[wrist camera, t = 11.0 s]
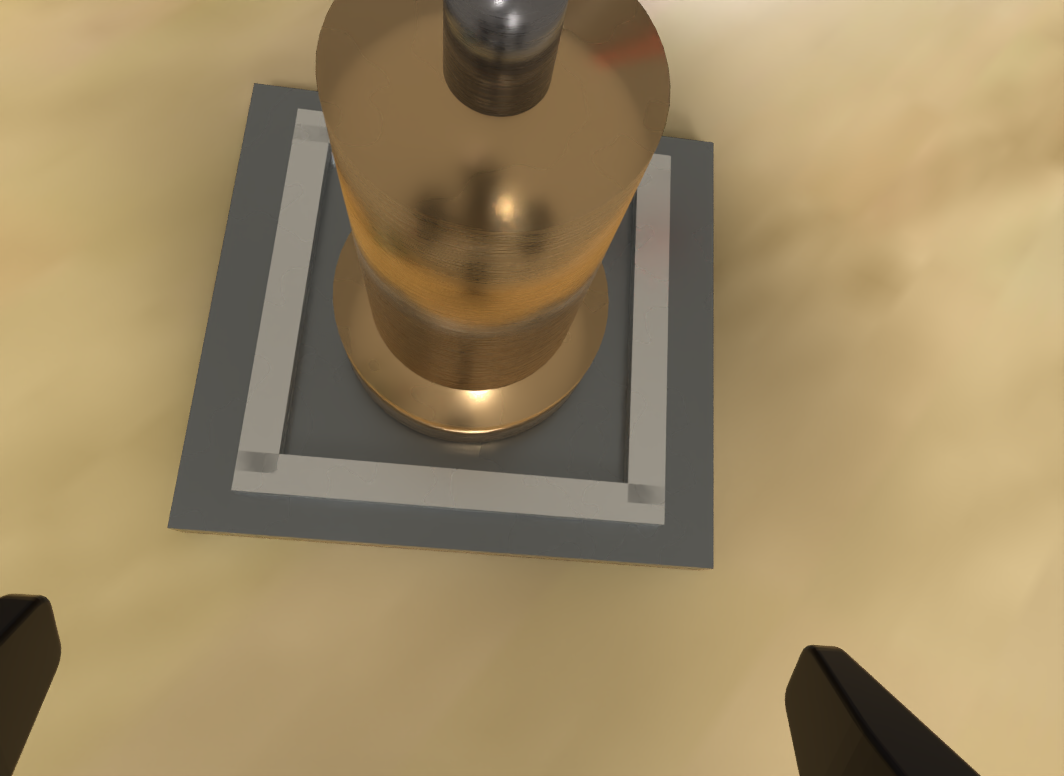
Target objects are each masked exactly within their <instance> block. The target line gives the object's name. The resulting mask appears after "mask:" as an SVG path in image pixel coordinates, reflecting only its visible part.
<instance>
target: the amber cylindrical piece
mask: <svg viewBox="0 0 1064 776" xmlns="http://www.w3.org/2000/svg"><path fill="white" fill-rule="evenodd" d="M316 80H317V88H318V95H319V99H320V103H321V107H322V111H323V115H324V119H325V123H326V127H327V131H328V136H329V140H330V144H331V148H332V152H333V156H334V160H335V164H336V168H337V172H338V176H339V181H340V185H341V189H342V193H343V197H344V201H345V205H346V209H347V213H348V217H349V222H350V226H351V230H352V231H351V233H350V234H349V236H348V238H347V240H346V242H345V244H344V246H343V248H342V250H341V253H340V256H339V259H338V262H337V265H336V270H335V276H334V282H333V307H334V315H335V320H336V324H337V328H338V332H339V335H340V338H341V340H342V343H343V346H344V348H345V351H346V353H347V356H348V358H349V361H350V363H351V365H352V368H353V370H354V372H355V375H356V376H357V378H358V380H359V381H360V383H361V385H362V386H363V388H364V389H365V391H366V392H367V393H368V394H369V395H370V397H371V398H372V399H373V400H374V402H375V403H377V404H378V405H379V406H380V407H381V408H382V409H383V410H384V411H385V412H386V413H387V414H389V415H390V416H391V417H393V418H394V419H396V420H397V421H398V422H400V423H402V424H403V425H405V426H407V427H409V428H411V429H413V430H415V431H417V432H420V433H422V434H425V435H427V436H430V437H433V438H438V439H442V440H446V441H453V442H462V443H479V442H489V441H495V440H501V439H504V438H507V437H511V436H514V435H517V434H519V433H522V432H524V431H526V430H528V429H531V428H532V427H534V426H536V425H537V424H539V423H541V422H542V421H544V420H545V419H547V418H548V417H549V416H550V415H552V414H553V413H554V412H555V411H556V410H558V409H559V408H560V406H561V405H562V404H563V403H564V402H565V401H566V400H567V399H568V398H569V396H570V395H571V394H572V392H573V391H574V389H575V388H576V387H577V385H578V384H579V382H580V381H581V379H582V378H583V376H584V374H585V373H586V371H587V370H588V368H589V367H590V365H591V364H592V362H593V360H594V358H595V356H596V354H597V352H598V350H599V348H600V345H601V342H602V339H603V336H604V333H605V328H606V323H607V318H608V305H609V298H608V285H607V280H606V275H605V271H604V267H603V264H602V260H603V258H604V256H605V254H606V252H607V250H608V248H609V246H610V244H611V242H612V239H613V237H614V235H615V233H616V231H617V229H618V227H619V225H620V223H621V221H622V219H623V217H624V215H625V213H626V210H627V208H628V206H629V204H630V202H631V200H632V198H633V196H634V194H635V192H636V190H637V188H638V186H639V183H640V181H641V179H642V177H643V175H644V173H645V171H646V169H647V167H648V165H649V163H650V161H651V159H652V156H653V154H654V152H655V150H656V148H657V146H658V144H659V142H660V139H661V136H662V133H663V131H664V128H665V125H666V121H667V116H668V111H669V105H670V78H669V68H668V63H667V59H666V55H665V52H664V48H663V45H662V43H661V40H660V38H659V35H658V33H657V30H656V28H655V26H654V25H653V23H652V21H651V19H650V18H649V16H648V14H647V12H646V11H645V10H644V8H643V7H642V6H641V4H640V3H639V2H638V0H334V2H333V4H332V5H331V7H330V9H329V11H328V13H327V15H326V18H325V20H324V23H323V26H322V29H321V31H320V36H319V41H318V46H317V51H316Z"/></svg>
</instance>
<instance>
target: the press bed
mask: <svg viewBox="0 0 1064 776" xmlns="http://www.w3.org/2000/svg"><path fill="white" fill-rule="evenodd" d="M351 231H352V230H351V226H350V222H349V217H348V213H347V209H346V205H345V201H344V197H343V193H342V189H341V185H340V181H339V176H338V172H337V168H336V164H335V160H334V156H333V152H332V148H331V144H330V140H329V136H328V131H327V127H326V123H325V119H324V115H323V111H322V107H321V103H320V99H319V95H318V91H310V90H303V89H295V88H287V87H279V86H272V85H264V84H256V83H254V88H253V93H252V98H251V103H250V108H249V113H248V118H247V123H246V128H245V134H244V139H243V144H242V149H241V154H240V159H239V164H238V169H237V175H236V180H235V185H234V190H233V195H232V200H231V205H230V210H229V215H228V221H227V226H226V231H225V236H224V241H223V246H222V251H221V256H220V262H219V267H218V272H217V277H216V282H215V287H214V292H213V297H212V302H211V308H210V313H209V318H208V323H207V328H206V333H205V338H204V343H203V349H202V354H201V359H200V364H199V369H198V374H197V379H196V384H195V389H194V395H193V400H192V405H191V410H190V415H189V420H188V425H187V430H186V436H185V441H184V446H183V451H182V456H181V461H180V466H179V471H178V476H177V482H176V487H175V492H174V497H173V502H172V507H171V512H170V517H169V523H168V528H169V529H173V530H177V531H181V532H190V533H203V534H217V535H231V536H244V537H258V538H271V539H285V540H298V541H312V542H325V543H339V544H352V545H366V546H379V547H393V548H406V549H420V550H433V551H447V552H460V553H474V554H487V555H501V556H514V557H528V558H541V559H555V560H568V561H582V562H595V563H609V564H622V565H636V566H649V567H663V568H676V569H690V570H705V569H713V143H712V142H704V141H697V140H689V139H681V138H673V137H666V136H661V139H660V142H659V144H658V146H657V148H656V150H655V152H654V154H653V156H652V159H651V161H650V163H649V165H648V167H647V169H646V171H645V173H644V175H643V177H642V179H641V181H640V183H639V186H638V188H637V190H636V192H635V194H634V196H633V198H632V200H631V202H630V204H629V206H628V208H627V210H626V213H625V215H624V217H623V219H622V221H621V223H620V225H619V227H618V229H617V231H616V233H615V235H614V237H613V239H612V242H611V244H610V246H609V248H608V250H607V252H606V254H605V256H604V258H603V260H602V264H603V267H604V271H605V275H606V280H607V285H608V298H609V305H608V318H607V323H606V328H605V333H604V336H603V339H602V342H601V345H600V348H599V350H598V352H597V354H596V356H595V358H594V360H593V362H592V364H591V365H590V367H589V368H588V370H587V371H586V373H585V374H584V376H583V378H582V379H581V381H580V382H579V384H578V385H577V387H576V388H575V389H574V391H573V392H572V394H571V395H570V396H569V398H568V399H567V400H566V401H565V402H564V403H563V404H562V405H561V406H560V408H559V409H558V410H556V411H555V412H554V413H553V414H552V415H550V416H549V417H548V418H547V419H545V420H544V421H542V422H541V423H539V424H537V425H536V426H534V427H532V428H531V429H528V430H526V431H524V432H522V433H519V434H517V435H514V436H511V437H507V438H504V439H501V440H495V441H489V442H479V443H462V442H453V441H446V440H442V439H438V438H433V437H430V436H427V435H425V434H422V433H420V432H417V431H415V430H413V429H411V428H409V427H407V426H405V425H403V424H402V423H400V422H398V421H397V420H396V419H394V418H393V417H391V416H390V415H389V414H387V413H386V412H385V411H384V410H383V409H382V408H381V407H380V406H379V405H378V404H377V403H375V402H374V400H373V399H372V398H371V397H370V395H369V394H368V393H367V392H366V391H365V389H364V388H363V386H362V385H361V383H360V381H359V380H358V378H357V376H356V375H355V372H354V370H353V368H352V365H351V363H350V361H349V358H348V356H347V353H346V351H345V348H344V346H343V343H342V340H341V338H340V335H339V332H338V328H337V324H336V320H335V315H334V307H333V282H334V276H335V270H336V265H337V262H338V259H339V256H340V253H341V250H342V248H343V246H344V244H345V242H346V240H347V238H348V236H349V234H350V233H351Z"/></svg>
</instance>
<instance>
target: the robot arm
mask: <svg viewBox="0 0 1064 776" xmlns="http://www.w3.org/2000/svg"><path fill="white" fill-rule="evenodd" d="M60 656H61V643H60V639H59V635H58V631H57V627H56V622H55V618H54V614H53V610H52V606H51V603H50V601H49V600H48V599H47V598H46V597H44V596H41V595H26V594H8V595H5V596H2V597H0V776H12V774H13V772H14V770H15V767H16V765H17V763H18V760H19V758H20V755H21V753H22V751H23V748H24V746H25V744H26V741H27V739H28V737H29V734H30V732H31V729H32V727H33V725H34V722H35V720H36V718H37V715H38V713H39V711H40V708H41V706H42V703H43V701H44V699H45V696H46V694H47V692H48V689H49V687H50V685H51V682H52V680H53V677H54V675H55V673H56V670H57V668H58V665H59V661H60ZM785 707H786V712H787V717H788V722H789V727H790V732H791V736H792V741H793V746H794V751H795V756H796V761H797V766H798V770H799V775H800V776H980V775H979V774H978V773H977V772H976V771H975V770H974V769H973V768H972V767H971V766H970V765H968V764H967V763H966V762H965V761H964V760H963V759H962V758H961V757H960V756H959V755H958V754H956V753H955V752H954V751H953V750H952V749H951V748H950V747H949V746H948V745H947V744H945V743H944V742H943V741H942V740H941V739H940V738H939V737H938V736H937V735H936V734H935V733H933V732H932V731H931V730H930V729H929V728H928V727H927V726H926V725H925V724H924V723H923V722H921V721H920V720H919V719H918V718H917V717H916V716H915V715H914V714H913V713H912V712H911V711H909V710H908V709H907V708H906V707H905V706H904V705H903V704H902V703H901V702H900V701H898V700H897V699H896V698H895V697H894V696H893V695H892V694H891V693H890V692H889V691H888V690H886V689H885V688H884V687H883V686H882V685H881V684H880V683H879V682H878V681H877V680H876V679H874V678H873V677H872V676H871V675H870V674H869V673H868V672H867V671H866V670H865V669H864V668H862V667H861V666H860V665H859V664H858V663H857V662H856V661H855V660H854V659H853V658H851V657H850V656H849V655H848V654H847V653H846V652H845V651H843V650H842V649H840V648H838V647H835V646H820V645H809V646H807V647H806V648H804V649H803V651H802V653H801V655H800V657H799V660H798V662H797V664H796V667H795V669H794V671H793V674H792V676H791V678H790V681H789V683H788V685H787V688H786V693H785Z"/></svg>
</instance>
